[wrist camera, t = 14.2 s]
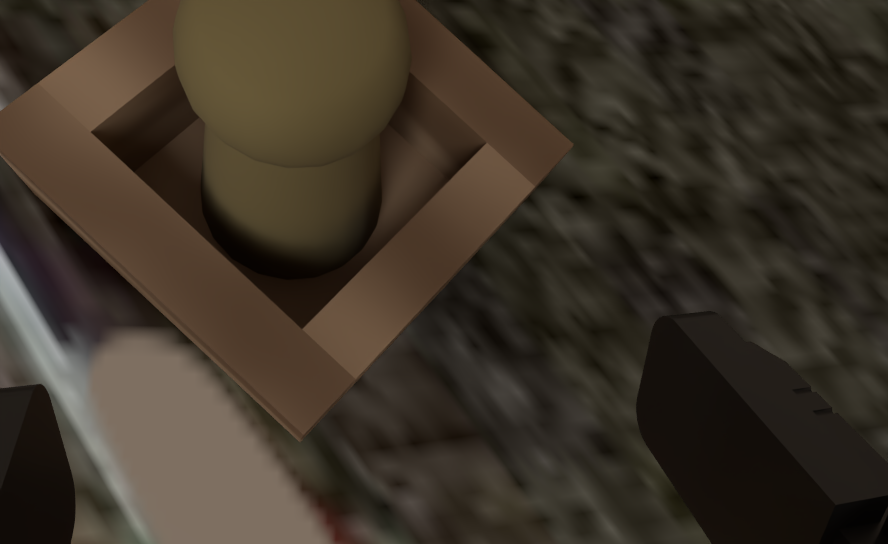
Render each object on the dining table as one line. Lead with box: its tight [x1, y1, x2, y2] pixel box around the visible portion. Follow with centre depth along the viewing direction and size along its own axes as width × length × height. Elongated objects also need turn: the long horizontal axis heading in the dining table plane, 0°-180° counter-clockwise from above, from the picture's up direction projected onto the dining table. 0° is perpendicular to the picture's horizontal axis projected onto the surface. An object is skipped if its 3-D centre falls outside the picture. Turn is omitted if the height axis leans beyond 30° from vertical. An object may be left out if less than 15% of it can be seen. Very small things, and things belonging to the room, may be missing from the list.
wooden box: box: [0, 0, 574, 442], centre depth 25 cm, size 12×12×5 cm
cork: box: [173, 0, 412, 280], centre depth 21 cm, size 6×6×11 cm
